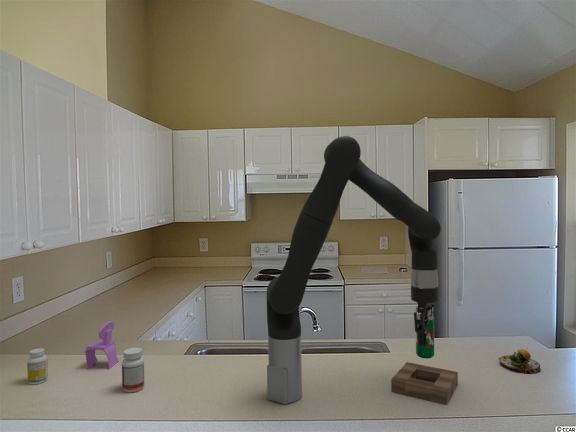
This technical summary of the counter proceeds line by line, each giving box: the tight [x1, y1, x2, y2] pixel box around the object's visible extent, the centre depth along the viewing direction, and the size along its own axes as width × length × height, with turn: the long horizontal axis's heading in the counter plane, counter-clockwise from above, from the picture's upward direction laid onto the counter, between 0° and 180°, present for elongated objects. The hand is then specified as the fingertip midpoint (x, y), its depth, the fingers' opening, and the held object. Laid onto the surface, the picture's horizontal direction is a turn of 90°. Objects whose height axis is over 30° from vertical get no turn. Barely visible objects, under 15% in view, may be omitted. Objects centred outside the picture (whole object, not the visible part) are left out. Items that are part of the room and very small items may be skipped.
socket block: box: [390, 361, 459, 406], centre depth 120 cm, size 15×15×4 cm
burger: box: [498, 348, 541, 375], centre depth 134 cm, size 12×12×8 cm
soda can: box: [415, 315, 435, 359], centre depth 119 cm, size 5×5×12 cm
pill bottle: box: [121, 347, 145, 393], centre depth 122 cm, size 6×6×11 cm
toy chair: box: [84, 320, 120, 370], centre depth 140 cm, size 8×9×15 cm
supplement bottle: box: [26, 347, 49, 385], centre depth 128 cm, size 5×5×10 cm
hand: (424, 342), depth 120 cm, fingers closed on soda can, 5 cm apart
